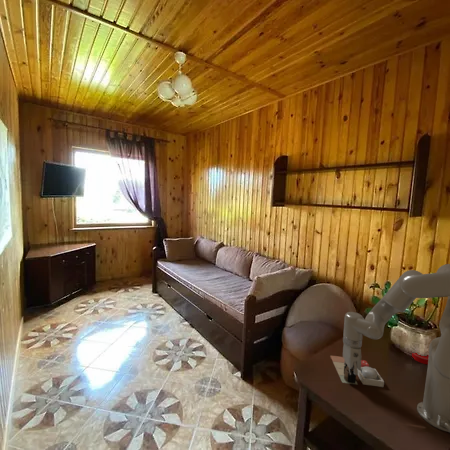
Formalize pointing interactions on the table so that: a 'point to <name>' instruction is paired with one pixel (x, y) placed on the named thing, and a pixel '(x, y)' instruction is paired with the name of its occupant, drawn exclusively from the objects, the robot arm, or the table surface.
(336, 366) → the game board
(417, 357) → the decorative ornament
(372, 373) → the dome
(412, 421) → the table surface
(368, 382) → the popper base
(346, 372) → the pawn
